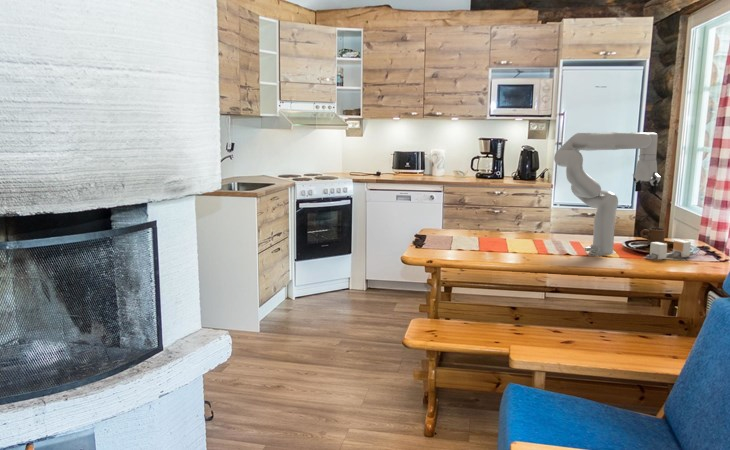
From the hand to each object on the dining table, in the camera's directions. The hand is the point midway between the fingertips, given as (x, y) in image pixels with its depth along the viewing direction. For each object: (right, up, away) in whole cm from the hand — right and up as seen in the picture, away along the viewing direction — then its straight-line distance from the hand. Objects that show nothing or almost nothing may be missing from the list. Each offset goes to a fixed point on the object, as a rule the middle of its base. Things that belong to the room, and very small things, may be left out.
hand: (645, 192), depth 286 cm
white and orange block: (+12, -31, -10) cm, 35 cm away
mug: (+11, -28, +17) cm, 34 cm away
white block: (-1, -32, -14) cm, 35 cm away
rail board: (+6, -33, -12) cm, 35 cm away
